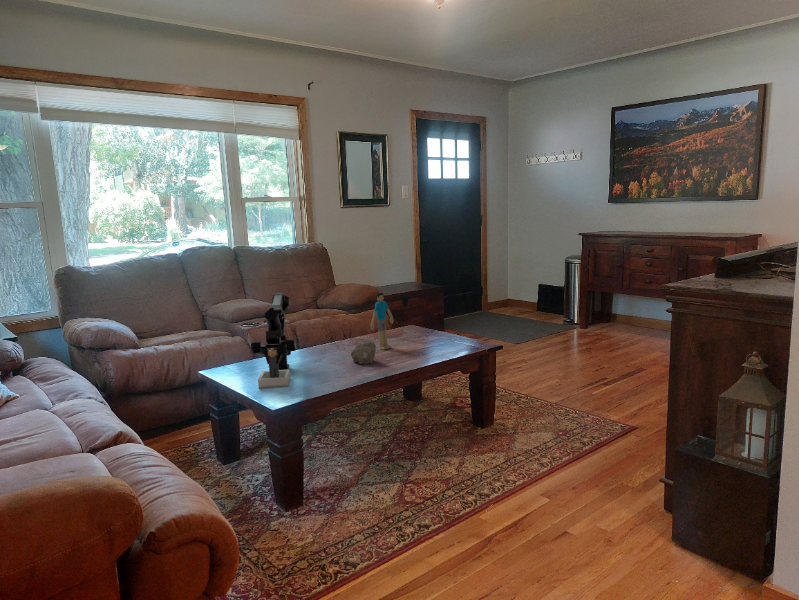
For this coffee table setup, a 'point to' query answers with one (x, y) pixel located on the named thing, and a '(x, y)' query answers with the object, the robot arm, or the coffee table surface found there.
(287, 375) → the bin
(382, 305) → the figurine
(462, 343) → the coffee table surface
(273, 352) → the cell
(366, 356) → the rock
